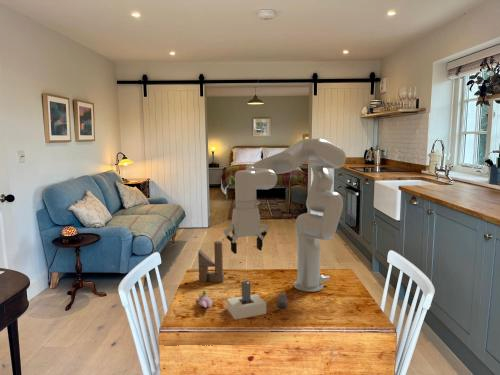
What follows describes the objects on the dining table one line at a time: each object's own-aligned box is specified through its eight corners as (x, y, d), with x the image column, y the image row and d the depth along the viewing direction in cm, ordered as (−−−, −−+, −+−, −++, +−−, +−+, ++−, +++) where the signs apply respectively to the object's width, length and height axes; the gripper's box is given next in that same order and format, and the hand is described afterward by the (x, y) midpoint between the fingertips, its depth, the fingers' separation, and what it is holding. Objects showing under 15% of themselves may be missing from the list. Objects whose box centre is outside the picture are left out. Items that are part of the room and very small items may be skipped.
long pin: (248, 308, 141) (248, 280, 139) (252, 312, 138) (251, 283, 136) (240, 310, 139) (240, 281, 138) (243, 313, 136) (243, 284, 135)
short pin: (284, 304, 144) (284, 293, 143) (288, 308, 141) (288, 296, 140) (276, 305, 143) (276, 294, 142) (280, 309, 140) (280, 297, 139)
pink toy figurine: (195, 302, 150) (199, 313, 135) (194, 287, 150) (198, 296, 135) (210, 301, 151) (216, 311, 137) (210, 286, 152) (215, 294, 137)
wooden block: (200, 279, 171) (199, 240, 169) (224, 279, 171) (223, 240, 168) (198, 282, 168) (197, 242, 166) (222, 282, 167) (222, 243, 165)
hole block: (256, 303, 145) (256, 293, 144) (266, 313, 136) (266, 303, 136) (227, 309, 141) (226, 298, 140) (234, 319, 132) (234, 308, 132)
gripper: (264, 201, 141) (264, 245, 144) (219, 205, 135) (221, 251, 137) (272, 204, 134) (272, 251, 137) (226, 208, 128) (227, 257, 130)
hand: (246, 251), depth 137 cm, fingers open, 9 cm apart
